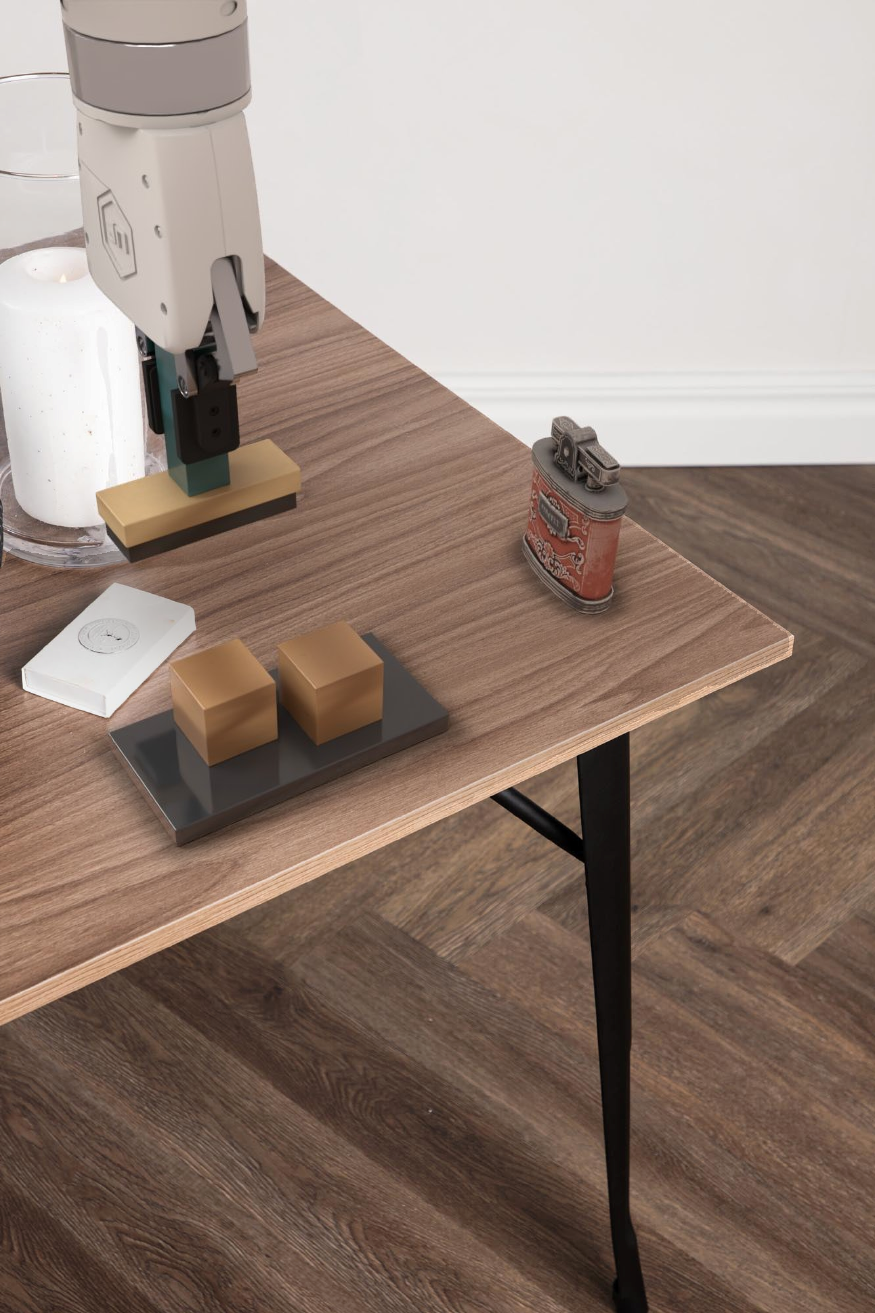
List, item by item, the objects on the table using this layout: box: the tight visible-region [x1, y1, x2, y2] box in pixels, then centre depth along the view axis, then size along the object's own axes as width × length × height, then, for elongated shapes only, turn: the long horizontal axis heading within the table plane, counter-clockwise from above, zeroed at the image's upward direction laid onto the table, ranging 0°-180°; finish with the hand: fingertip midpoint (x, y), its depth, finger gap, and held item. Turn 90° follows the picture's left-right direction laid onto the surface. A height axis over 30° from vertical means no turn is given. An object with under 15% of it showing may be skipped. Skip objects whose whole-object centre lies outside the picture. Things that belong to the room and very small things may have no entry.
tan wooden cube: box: [168, 637, 278, 767], centre depth 72 cm, size 4×4×4 cm
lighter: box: [521, 415, 629, 615], centre depth 84 cm, size 8×3×10 cm, turn 27°
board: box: [107, 631, 450, 847], centre depth 75 cm, size 16×8×1 cm, turn 124°
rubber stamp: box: [95, 342, 302, 565], centre depth 71 cm, size 10×4×11 cm, turn 124°
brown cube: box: [276, 619, 384, 746], centre depth 74 cm, size 4×4×4 cm
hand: (194, 437), depth 71 cm, fingers closed on rubber stamp, 2 cm apart
